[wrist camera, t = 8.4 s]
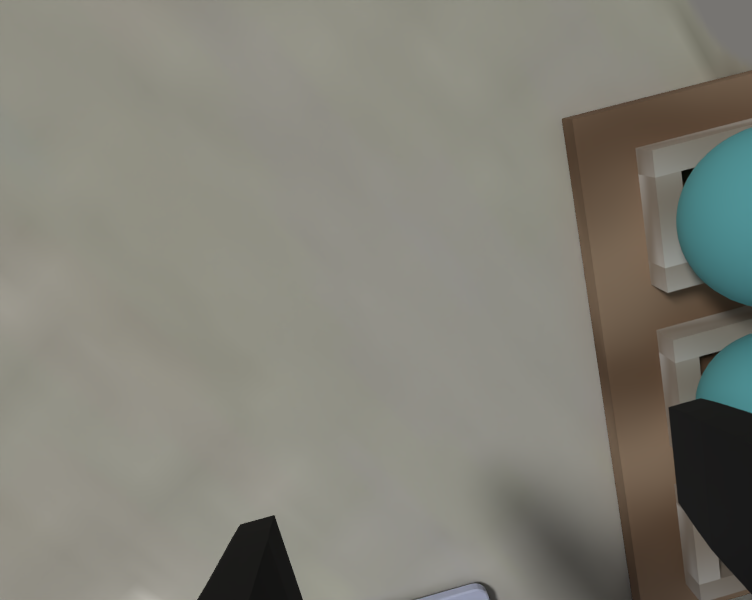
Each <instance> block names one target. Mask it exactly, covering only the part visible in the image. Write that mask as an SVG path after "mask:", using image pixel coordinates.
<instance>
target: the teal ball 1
mask: <svg viewBox="0 0 752 600" xmlns="http://www.w3.org/2000/svg"><path fill="white" fill-rule="evenodd" d="M676 229H677V235H678V240H679V243H680V247H681V250H682V252H683V254H684V256H685V259H686V260H687V262H688V263H689V265H690V266H691V268H692V269H693V271H694V272H695V273H696V275H697V276H698V277H699V278H700V279H701V280H702V281H703V282H704V283H705V284H707V285H708V286H709V287H710V288H712V289H713V290H714V291H716V292H718V293H719V294H721V295H723V296H725V297H727V298H728V299H730V300H733V301H736V302H738V303H741V304H744V305H747V306H752V127H751V128H748V129H745V130H743V131H741V132H739V133H737V134H735V135H733V136H731V137H729V138H727V139H726V140H724V141H723V142H721V143H719V144H718V145H717V146H716V147H714V148H713V149H712V150H711V151H710V152H709V153H707V154H706V155H705V156H704V157H703V158H702V160H701V161H700V162H699V163H698V164H697V165H696V167H695V168H694V169H693V171H692V172H691V174H690V175H689V177H688V179H687V181H686V183H685V185H684V187H683V189H682V192H681V195H680V198H679V202H678V207H677V215H676Z"/></svg>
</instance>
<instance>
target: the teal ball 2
mask: <svg viewBox="0 0 752 600" xmlns="http://www.w3.org/2000/svg"><path fill="white" fill-rule="evenodd" d="M700 398H702V399H706V400H710V401H714V402H718V403H721V404H725V405H728V406H731V407H734V408H737V409H741V410H744V411H747V412H750V413H752V333H751V334H748V335H746V336H744V337H741V338H739V339H737V340H735V341H734V342H732V343H730V344H729V345H727V346H726V347H725V348H723V349H722V350H721V351H720V352H719V353H718V354H717V355H716V356H715V357H714V358H713V359H712V360H711V362H710V363H709V364H708V366H707V367H706V369H705V370H704V372H703V374H702V376H701V378H700V381H699V384H698V387H697V391H696V399H700ZM696 399H695V400H696Z"/></svg>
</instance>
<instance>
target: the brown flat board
mask: <svg viewBox="0 0 752 600" xmlns="http://www.w3.org/2000/svg"><path fill="white" fill-rule="evenodd" d="M562 123H563V130H564V137H565V144H566V151H567V157H568V164H569V171H570V178H571V185H572V191H573V198H574V205H575V212H576V219H577V226H578V232H579V239H580V246H581V253H582V260H583V266H584V273H585V280H586V287H587V294H588V301H589V307H590V314H591V321H592V328H593V335H594V341H595V348H596V355H597V362H598V369H599V375H600V382H601V389H602V396H603V403H604V410H605V416H606V423H607V430H608V437H609V444H610V450H611V457H612V464H613V471H614V478H615V484H616V491H617V498H618V505H619V512H620V519H621V525H622V532H623V539H624V546H625V553H626V559H627V566H628V573H629V580H630V587H631V593H632V600H729V599H732V598H736V597H739V596H743V595H746V594H749V593H750V592H749V591H748V590H747V589H746V588H745V587H744V585H743V584H742V583H741V582H740V581H739V580H738V579H737V578H736V577H735V576H734V574H733V573H732V572H731V571H730V570H729V569H728V568H727V567H726V566H725V565H724V563H723V562H722V561H721V560H720V559H719V558H718V557H717V556H716V554H715V553H714V552H713V551H712V550H711V548H710V547H709V546H708V544H707V543H706V542H705V540H704V539H703V538H702V536H701V535H700V533H699V532H698V531H697V529H696V528H695V526H694V525H693V524H692V522H691V521H690V519H689V518H688V516H687V515H686V513H685V512H684V510H683V509H682V507H681V506H680V504H679V503H678V496H677V486H676V477H675V467H674V457H673V448H672V438H671V428H670V419H669V409H668V407H671V406H674V405H678V404H681V403H685V402H689V401H692V400H695V399H696V391H697V387H698V384H699V381H700V378H701V376H702V374H703V372H704V370H705V369H706V367H707V366H708V364H709V363H710V362H711V360H712V359H713V358H714V357H715V356H716V355H717V354H718V353H719V352H720V351H721V350H722V349H723V348H725V347H726V346H727V345H729V344H730V343H732V342H734V341H735V340H737V339H739V338H741V337H744V336H746V335H748V334H751V333H752V306H747V305H744V304H741V303H738V302H736V301H733V300H730V299H728V298H727V297H725V296H723V295H721V294H719V293H718V292H716V291H714V290H713V289H712V288H710V287H709V286H708V285H707V284H705V283H704V282H703V281H702V280H701V279H700V278H699V277H698V276H697V275H696V273H695V272H694V271H693V269H692V268H691V266H690V265H689V263H688V262H687V260H686V259H685V256H684V254H683V252H682V250H681V247H680V243H679V240H678V235H677V229H676V215H677V207H678V202H679V198H680V195H681V192H682V189H683V187H684V185H685V183H686V181H687V179H688V177H689V175H690V174H691V172H692V171H693V169H694V168H695V167H696V165H697V164H698V163H699V162H700V161H701V160H702V158H703V157H704V156H705V155H706V154H707V153H709V152H710V151H711V150H712V149H713V148H714V147H716V146H717V145H718V144H719V143H721V142H723V141H724V140H726V139H727V138H729V137H731V136H733V135H735V134H737V133H739V132H741V131H743V130H745V129H748V128H751V127H752V70H751V71H747V72H744V73H740V74H736V75H732V76H728V77H724V78H720V79H716V80H712V81H708V82H704V83H700V84H696V85H692V86H689V87H685V88H681V89H677V90H673V91H669V92H665V93H661V94H657V95H653V96H649V97H645V98H641V99H638V100H634V101H630V102H626V103H622V104H618V105H614V106H610V107H606V108H602V109H598V110H594V111H590V112H586V113H583V114H579V115H575V116H571V117H567V118H563V119H562Z"/></svg>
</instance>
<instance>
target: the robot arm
mask: <svg viewBox="0 0 752 600" xmlns="http://www.w3.org/2000/svg"><path fill="white" fill-rule="evenodd" d="M668 409H669V419H670V428H671V438H672V448H673V457H674V467H675V477H676V486H677V496H678V503H679V504H680V506H681V507H682V509H683V510H684V512H685V513H686V515H687V516H688V518H689V519H690V521H691V522H692V524H693V525H694V526H695V528H696V529H697V531H698V532H699V533H700V535H701V536H702V538H703V539H704V540H705V542H706V543H707V544H708V546H709V547H710V548H711V550H712V551H713V552H714V553H715V554H716V556H717V557H718V558H719V559H720V560H721V561H722V562H723V563H724V565H725V566H726V567H727V568H728V569H729V570H730V571H731V572H732V573H733V574H734V576H735V577H736V578H737V579H738V580H739V581H740V582H741V583H742V584H743V585H744V587H745V588H746V589H747V590H748V591H749V592H750V593H751V594H752V413H750V412H747V411H744V410H741V409H737V408H734V407H731V406H728V405H725V404H721V403H718V402H714V401H710V400H706V399H702V398H700V399H696V400H692V401H689V402H685V403H681V404H678V405H674V406H671V407H668ZM197 600H303V599H302V596H301V593H300V590H299V587H298V584H297V581H296V578H295V575H294V572H293V569H292V566H291V563H290V560H289V557H288V554H287V551H286V548H285V545H284V543H283V540H282V537H281V534H280V531H279V528H278V525H277V522H276V519H275V516H274V515H273V516H270V517H266V518H263V519H259V520H255V521H252V522H248V523H244V524H241V525H240V526H239V527H238V529H237V531H236V532H235V534H234V536H233V538H232V539H231V541H230V543H229V545H228V546H227V548H226V550H225V552H224V554H223V556H222V557H221V559H220V561H219V563H218V565H217V566H216V568H215V570H214V572H213V574H212V575H211V577H210V579H209V581H208V582H207V584H206V586H205V588H204V589H203V591H202V593H201V594H200V596H199V598H198V599H197ZM416 600H489V596H488V594H487V591H486V589H485V587H484V586H482V585H481V584H477V583H474V584H469V585H465V586H462V587H458V588H455V589H451V590H448V591H444V592H441V593H437V594H434V595H430V596H427V597H423V598H420V599H416Z"/></svg>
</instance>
